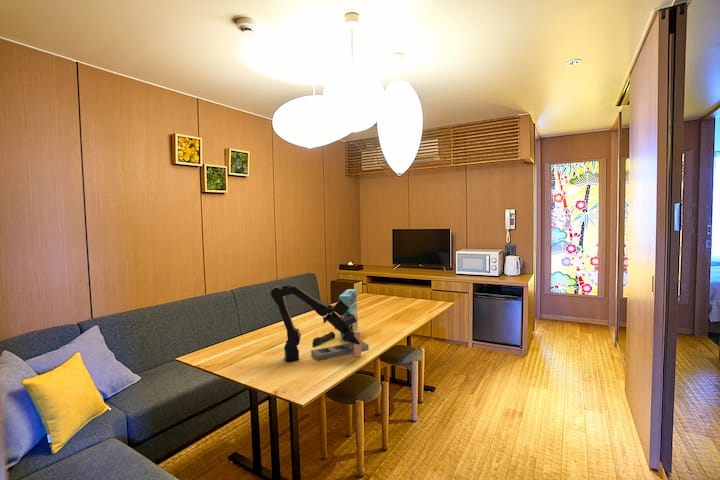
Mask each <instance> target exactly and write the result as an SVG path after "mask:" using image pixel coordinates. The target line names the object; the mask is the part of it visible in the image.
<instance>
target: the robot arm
mask: <svg viewBox="0 0 720 480" xmlns="http://www.w3.org/2000/svg"><path fill="white" fill-rule="evenodd" d="M289 295H294V296H296V297H297V298H298V299H299V300H301V301H303V302H305V304H307V305H309V306H310V307H311V308H312V309H313V311H314V312H315V313H316V314H318V316H320V317H322V320H323V321H322V322H323V324H325V323H326V322H328V323H329V324H330V325H332V327H333V328H334V329H335V330H337V331H338V332H339V334H340V335H341V334H343V333H344V334H343V335H342V339H343V340H344V341H343V342H344V343H354V344H357V345H359V344H360V342H359V341H358V340H357V339H356V337H355V336H354V331H353V326H352V324H353V323H356V322H357V319H358V318H357V319H356V317H355V315H354V314H353V315H352V314H351V313H349V314H348V317H347V318H346V319H344V318H340V315H344V313H345V312H346V311H347V310H348V309H349V308H350V307H349V305H348V304H347V303H346V302H344V301H342V300H341V299H340V300H339V299H338V301H337V302H336V303H335V304H334V305H333V304H332V305H331V304H327V303H326V302H324V301H321V300H318V299H316V298H314V297H313V296H311V295H310V294H309V293H307V292H305V291H304V290H303V289H301V288H300V287H298V285H296V284H293V285H283V286H281V285H275V286H274V287H273V288H272V289H271V290H270V296H271V298H272V300H273V301H274V303H275V304H276V305H277V307H278V310H279V313H280V315H281V319H282V322H283V324H284V327H285V330H286V336H287V337H286V338H287V340H286V341H285V345H284V347H283V348H284V357H283V359H284V361H285V362H286V363H291V362H297V361H299V360H300V350H299V349H298V348H299V347H298V346H299V344H300V342H301V337H302V334H301V332H300V328H299V327H297V328H296V327H295V325H294V323H293V319H292V317H291V314H290V311H289V308H288V307H287V306H288V305H287V303H286V296H289ZM350 325H351V326H350Z"/></svg>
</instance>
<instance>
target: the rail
mask: <svg viewBox="0 0 720 480" xmlns="http://www.w3.org/2000/svg"><path fill="white" fill-rule="evenodd" d="M369 349H370V347H369V344H368V343H366V342H365V341H362V340H361V352H364V351H368V350H369ZM350 354H354V343H350V342H345V343H342V344H337V345H332V346H327V347H323V348H317V349H313V350H311V351H310V355H311V357H313V359H315V360H316V361H322V360H326V359H333V358H336V357H340V356H345V355H346V356H347V355H350Z"/></svg>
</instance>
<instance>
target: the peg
mask: <svg viewBox="0 0 720 480" xmlns="http://www.w3.org/2000/svg"><path fill="white" fill-rule="evenodd" d="M353 331H354V336H355V337H356V339H357V340H358V341H359V342H360V344H359V345H357V344H354V353H353V356H354V358H359V357H360V358H361V357H362V351H361V341H362V340H361V339H362V338H361V337H362V336H361V334H362V333H361V329H358V330H353Z"/></svg>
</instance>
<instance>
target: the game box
mask: <svg viewBox="0 0 720 480" xmlns="http://www.w3.org/2000/svg"><path fill="white" fill-rule="evenodd" d="M357 295H358V294H357V289H356V288H355V289H354V288H353V289H352V288H349V289H346V290H344V291H343V292H342V293H341V294H340V295H339V297H338V301H339V300H340V299H341V300H342V301H344V302H346V303H347V304H348V305H349V307H350V308H349V309H348V310H347V311H346V312H345V313H344V315H340V316H339V317H340V318H344V319H346V318H347V317H348V314H349V313H351V314H352V315H353V314H354V315H355V317H356V319H357V322H356V323H353V324H352V326H353V330H359V326H358V324H359V322H358V321H359V319H358V300H357V297H358V296H357ZM350 326H351V325H350ZM343 334H344V333H343ZM343 334H341V333H340V342H345V341H344V340H343V339H342V335H343Z"/></svg>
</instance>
